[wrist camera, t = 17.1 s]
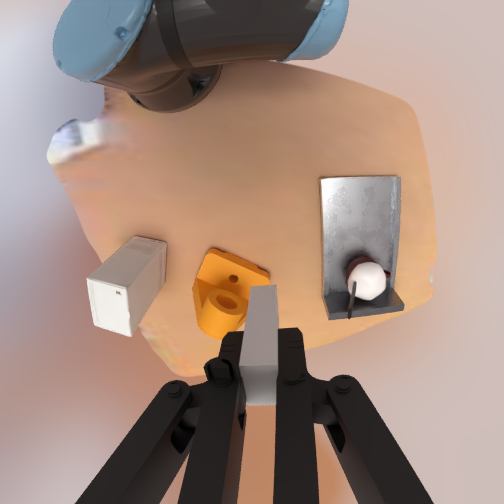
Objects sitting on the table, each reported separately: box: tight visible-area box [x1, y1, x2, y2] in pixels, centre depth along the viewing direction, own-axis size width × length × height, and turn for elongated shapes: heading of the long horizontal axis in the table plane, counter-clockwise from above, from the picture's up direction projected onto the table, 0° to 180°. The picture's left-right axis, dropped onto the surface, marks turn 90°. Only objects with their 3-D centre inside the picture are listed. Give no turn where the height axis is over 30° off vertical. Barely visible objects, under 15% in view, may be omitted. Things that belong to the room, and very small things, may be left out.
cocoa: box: [346, 257, 391, 319], centre depth 37 cm, size 10×6×12 cm, turn 74°
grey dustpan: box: [319, 176, 404, 320], centre depth 38 cm, size 20×13×7 cm, turn 6°
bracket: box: [192, 249, 270, 339], centre depth 40 cm, size 11×7×12 cm, turn 65°
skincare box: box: [87, 236, 167, 337], centre depth 38 cm, size 8×7×16 cm
